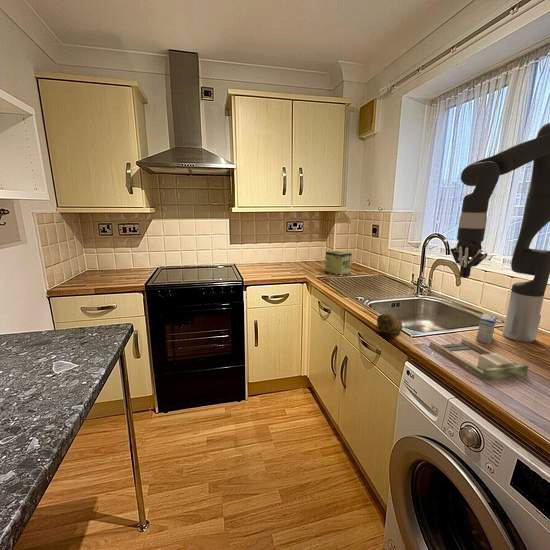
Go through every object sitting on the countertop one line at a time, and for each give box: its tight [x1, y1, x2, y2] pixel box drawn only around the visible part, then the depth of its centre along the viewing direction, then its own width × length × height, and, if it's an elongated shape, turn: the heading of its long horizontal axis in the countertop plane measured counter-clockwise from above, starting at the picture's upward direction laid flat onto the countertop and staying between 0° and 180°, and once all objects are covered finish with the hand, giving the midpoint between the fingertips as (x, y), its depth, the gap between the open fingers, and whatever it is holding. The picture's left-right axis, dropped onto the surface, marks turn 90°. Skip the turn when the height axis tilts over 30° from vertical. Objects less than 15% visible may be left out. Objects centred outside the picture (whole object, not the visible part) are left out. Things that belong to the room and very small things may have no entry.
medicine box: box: [475, 313, 497, 345], centre depth 109 cm, size 8×4×9 cm, turn 141°
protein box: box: [324, 250, 353, 276], centre depth 213 cm, size 10×16×16 cm
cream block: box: [476, 352, 515, 371], centre depth 88 cm, size 6×6×4 cm
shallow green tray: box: [429, 337, 529, 381], centre depth 95 cm, size 14×22×3 cm, turn 12°
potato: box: [376, 313, 403, 335], centre depth 113 cm, size 8×13×8 cm, turn 112°
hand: (464, 277), depth 102 cm, fingers closed
